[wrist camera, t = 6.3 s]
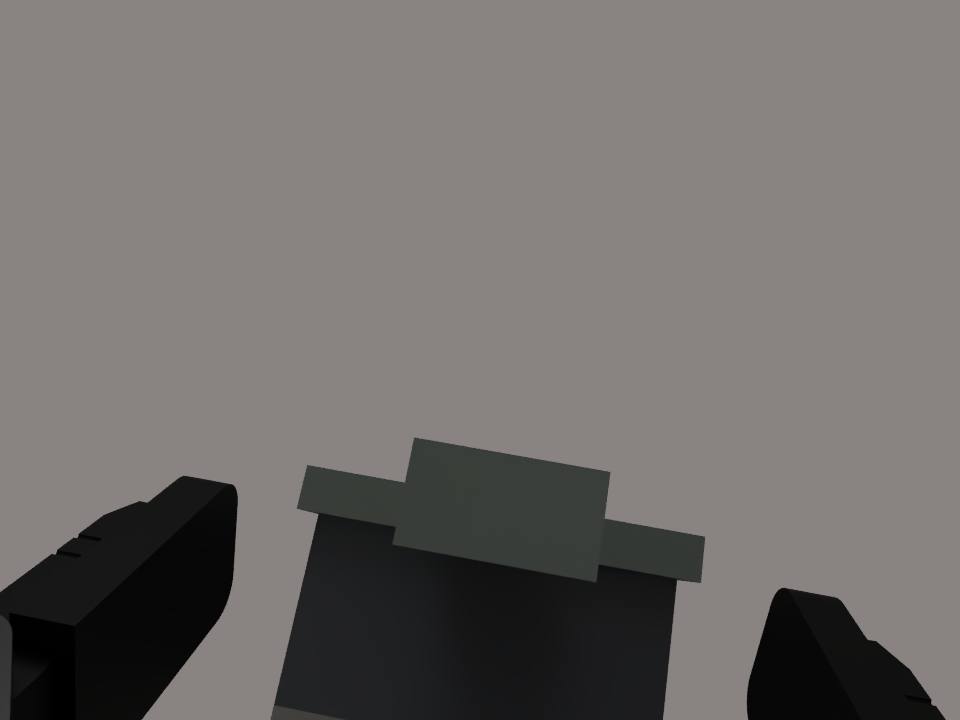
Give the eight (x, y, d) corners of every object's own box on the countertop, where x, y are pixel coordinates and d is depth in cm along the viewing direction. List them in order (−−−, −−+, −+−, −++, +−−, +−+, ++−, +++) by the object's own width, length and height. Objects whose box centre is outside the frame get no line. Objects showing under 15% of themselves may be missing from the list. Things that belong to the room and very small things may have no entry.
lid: (879, 635, 10) (882, 520, 10) (131, 496, 11) (162, 393, 11) (624, 583, 29) (628, 544, 30) (363, 535, 30) (371, 497, 30)
